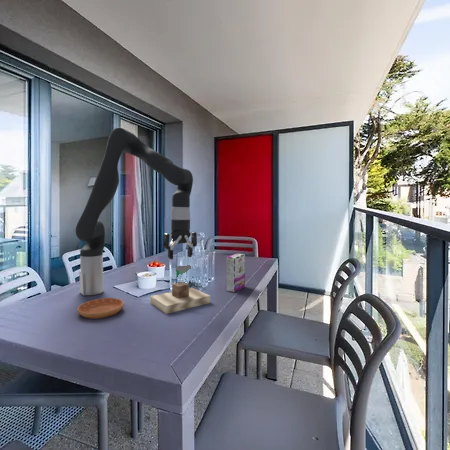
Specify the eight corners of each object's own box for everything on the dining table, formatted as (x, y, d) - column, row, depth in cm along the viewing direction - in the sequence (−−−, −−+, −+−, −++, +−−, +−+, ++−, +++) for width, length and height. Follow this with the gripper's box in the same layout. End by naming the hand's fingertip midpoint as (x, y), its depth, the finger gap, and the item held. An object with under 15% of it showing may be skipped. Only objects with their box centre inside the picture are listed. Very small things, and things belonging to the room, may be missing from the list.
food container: (187, 287, 141) (187, 267, 140) (175, 286, 142) (175, 266, 142) (195, 280, 153) (195, 262, 152) (184, 279, 154) (184, 261, 154)
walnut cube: (178, 298, 115) (178, 286, 114) (172, 295, 119) (172, 283, 118) (188, 296, 118) (189, 284, 118) (182, 293, 122) (182, 281, 121)
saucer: (77, 324, 97) (77, 315, 97) (77, 308, 112) (77, 301, 111) (126, 316, 105) (126, 308, 105) (120, 302, 119) (120, 295, 119)
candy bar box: (236, 285, 145) (236, 253, 144) (245, 286, 143) (245, 254, 141) (225, 291, 136) (225, 256, 134) (234, 292, 133) (235, 257, 132)
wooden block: (166, 313, 107) (166, 306, 107) (150, 303, 118) (150, 296, 117) (210, 302, 119) (210, 295, 119) (192, 294, 130) (192, 287, 130)
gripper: (190, 217, 123) (190, 254, 124) (160, 218, 114) (160, 258, 115) (200, 218, 117) (200, 257, 118) (169, 219, 108) (169, 261, 110)
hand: (180, 258), depth 117 cm, fingers open, 8 cm apart
